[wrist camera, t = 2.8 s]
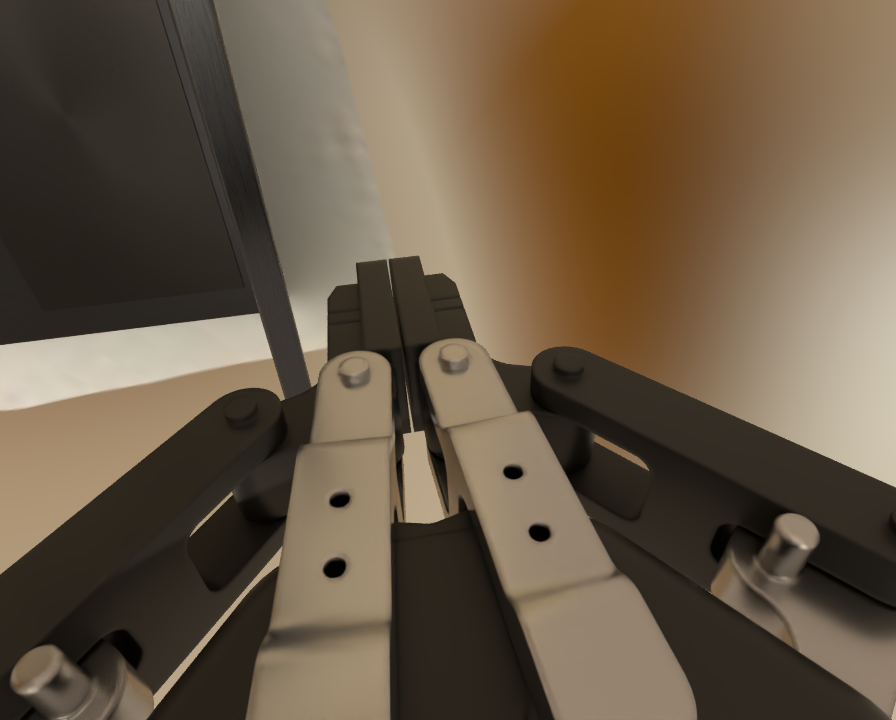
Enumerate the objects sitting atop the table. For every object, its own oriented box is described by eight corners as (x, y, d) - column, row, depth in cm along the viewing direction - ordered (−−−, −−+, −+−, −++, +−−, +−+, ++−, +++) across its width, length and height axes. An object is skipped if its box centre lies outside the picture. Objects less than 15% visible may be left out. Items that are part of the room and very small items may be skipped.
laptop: (-35, 335, 36) (-50, 352, 35) (-450, -250, 20) (-512, -264, 19) (279, 297, 39) (277, 312, 37) (131, -260, 22) (117, -273, 21)
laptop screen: (333, 569, 22) (356, 562, 22) (-70, -757, 6) (25, -736, 6) (277, 311, 37) (291, 308, 37) (118, -272, 21) (144, -271, 21)
